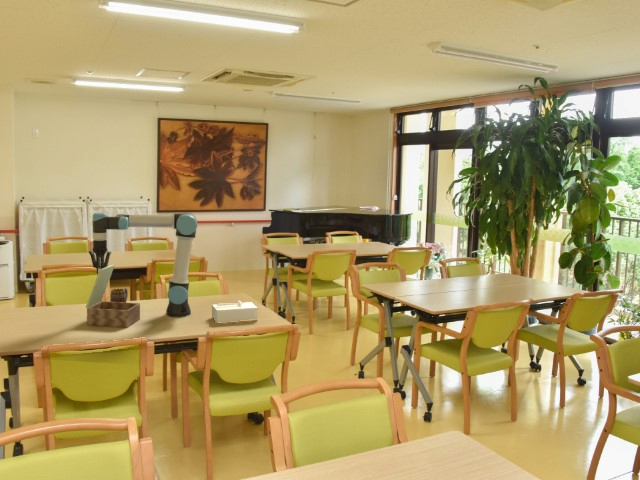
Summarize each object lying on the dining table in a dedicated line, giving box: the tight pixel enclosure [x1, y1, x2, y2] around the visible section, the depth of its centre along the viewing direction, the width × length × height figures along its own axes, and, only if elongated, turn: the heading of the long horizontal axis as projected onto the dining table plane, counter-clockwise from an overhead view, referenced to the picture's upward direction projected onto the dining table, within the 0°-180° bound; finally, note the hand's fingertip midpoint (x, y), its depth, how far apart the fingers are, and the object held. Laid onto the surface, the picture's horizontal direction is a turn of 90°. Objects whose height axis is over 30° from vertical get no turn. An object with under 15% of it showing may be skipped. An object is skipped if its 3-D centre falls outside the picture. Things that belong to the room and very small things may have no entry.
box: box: [86, 300, 141, 329], centre depth 344 cm, size 24×18×10 cm
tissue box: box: [211, 300, 259, 324], centre depth 359 cm, size 14×25×11 cm, turn 112°
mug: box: [109, 287, 129, 303], centre depth 366 cm, size 16×11×15 cm
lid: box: [85, 264, 116, 309], centre depth 343 cm, size 24×18×1 cm
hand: (100, 279), depth 342 cm, fingers closed
